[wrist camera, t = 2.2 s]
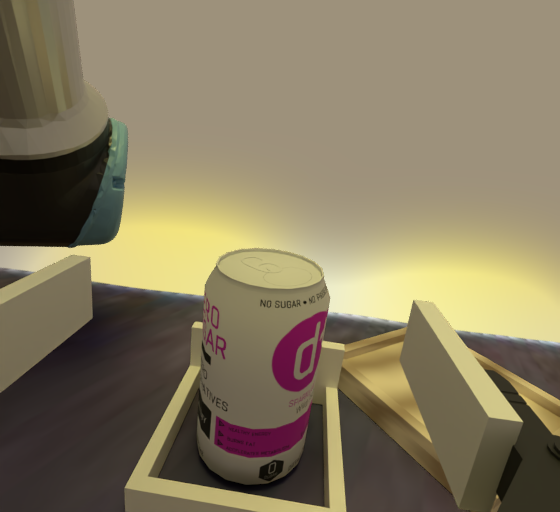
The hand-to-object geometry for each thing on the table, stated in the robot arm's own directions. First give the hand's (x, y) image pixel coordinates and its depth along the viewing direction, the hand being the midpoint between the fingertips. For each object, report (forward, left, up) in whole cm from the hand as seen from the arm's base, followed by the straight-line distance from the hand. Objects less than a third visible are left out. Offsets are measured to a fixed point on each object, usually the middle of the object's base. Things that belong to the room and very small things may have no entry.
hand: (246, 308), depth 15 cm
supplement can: (-7, +6, -17) cm, 19 cm away
